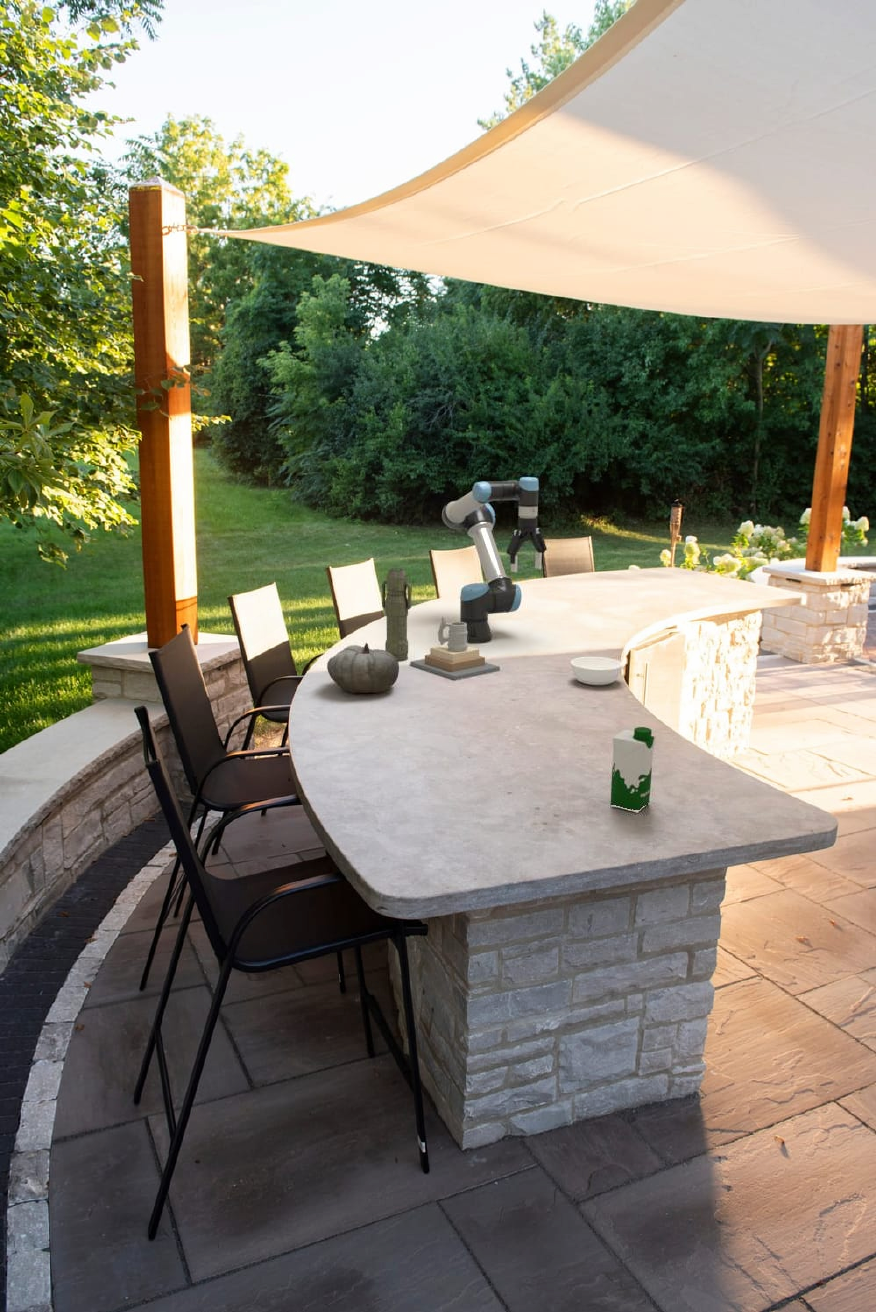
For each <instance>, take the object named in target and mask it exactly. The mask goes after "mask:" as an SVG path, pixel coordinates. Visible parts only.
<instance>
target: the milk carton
mask: <svg viewBox="0 0 876 1312" xmlns="http://www.w3.org/2000/svg"><path fill="white" fill-rule="evenodd" d="M612 742H613V743H612V749H613V751H612V765H611V766H612V768H611V785H610V789H611V790H610V806H611V805H616V806H620V807H623V808H627V809H631V810H632V809H633V810H640V809H641V808H642V807H643V806H645V805H647V804H648V803H649V804H650V796H651V788H652V787H651V784H652V771H653V758H654V757H653V756H654V748H655V743H656V734H652V729H651V728H649V727H644V726H638V727H634V730H630V729H624V730H622V731H621V732H619V733H618V734H616V735H615V736H613V737H612ZM647 806H648V805H647Z"/></svg>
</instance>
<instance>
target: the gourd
mask: <svg viewBox="0 0 876 1312" xmlns="http://www.w3.org/2000/svg"><path fill="white" fill-rule="evenodd" d="M399 665H400V664H399V662H398V661H397V660H396V658H395V657H394V656H393V655H392V654H391V653H389V652H387V651H385V649H379V648H376V649H374V648H373V649H371V648H370V647H369V643H368V642H365V645H364V646H360V645H357V644H356V645H355V644H354V645H348V646H346V647H345V648H343V649H342V650H340V651H339V652H337V654H335V655H334V656H331V657H330V658H329V659H328V661H327V665H326V668H327V672H328V674H329V677H330V678H331V680H332V681H334V683H335V684H336V685H337V686H339V687H340V688H341V689H342V690H344V691H346V692H348V693H351V694H358V693H362V694H367V693H371V694H374V693H376V694H377V693H379V694H380V693H382V692H384V691H387V690H388V689H391V687H393V686H394V684H395V683H396V682H397V680H398V677H399V673H400V666H399Z"/></svg>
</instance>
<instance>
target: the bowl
mask: <svg viewBox="0 0 876 1312" xmlns="http://www.w3.org/2000/svg"><path fill="white" fill-rule="evenodd" d="M570 669H571V671H572V672H573V675H574V677H575V679H576V680H577V681H579V682H581V683H583V684H585V685H588V686H589V685H590V686H605V685H606V686H607V685H609V684H613V683H614V682H615V681H617V679H618V678H619V675H620V674H621V672H622V670H623V662H621V661H620V660H618V659H614V658H610V657H603V656H581V657H575V658H573V659H572V660H570Z"/></svg>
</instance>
